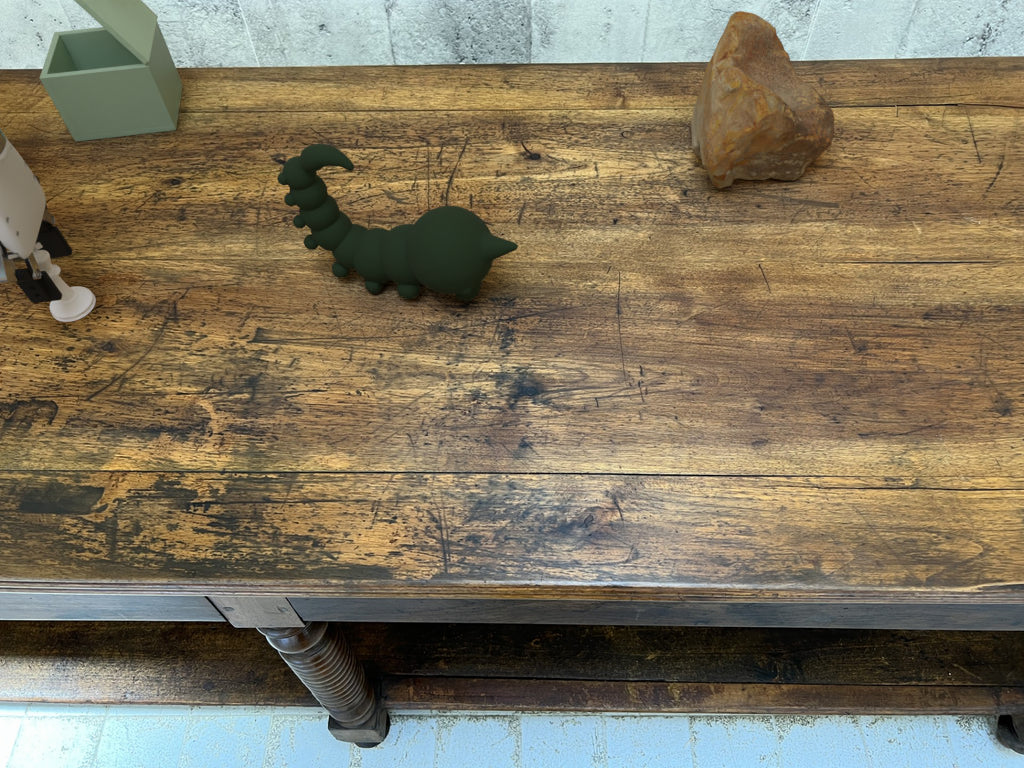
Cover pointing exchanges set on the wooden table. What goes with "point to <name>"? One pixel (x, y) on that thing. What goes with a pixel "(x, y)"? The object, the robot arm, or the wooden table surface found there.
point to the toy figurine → (391, 236)
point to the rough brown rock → (757, 109)
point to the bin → (111, 85)
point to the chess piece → (65, 291)
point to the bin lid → (125, 23)
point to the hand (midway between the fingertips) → (52, 276)
